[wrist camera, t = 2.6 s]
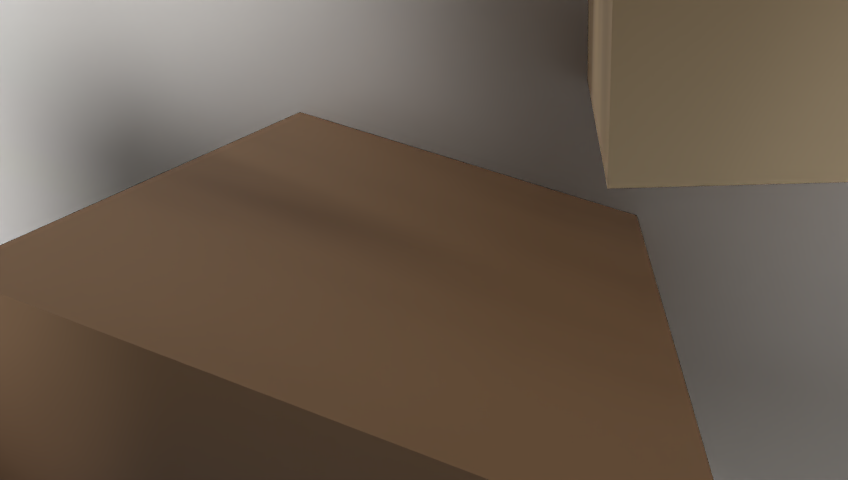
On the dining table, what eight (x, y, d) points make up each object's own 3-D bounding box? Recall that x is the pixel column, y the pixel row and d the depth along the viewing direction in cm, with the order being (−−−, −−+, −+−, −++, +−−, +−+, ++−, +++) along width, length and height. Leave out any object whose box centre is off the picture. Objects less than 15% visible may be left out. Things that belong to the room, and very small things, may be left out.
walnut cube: (522, 458, 11) (480, 861, 6) (271, 364, 12) (38, 652, 7) (636, 215, 9) (742, 575, 3) (299, 112, 9) (-58, 271, 4)
